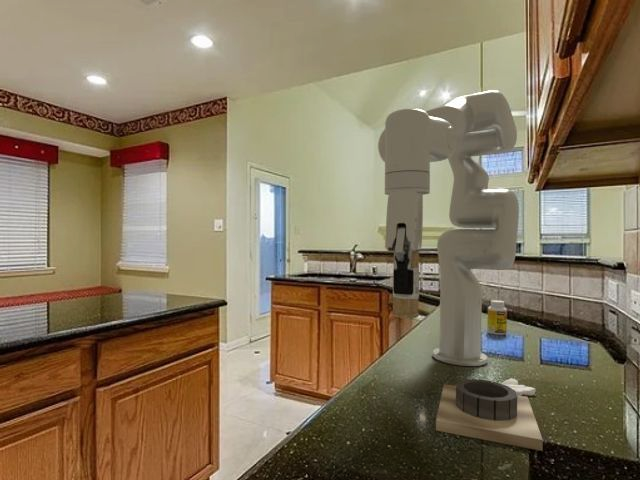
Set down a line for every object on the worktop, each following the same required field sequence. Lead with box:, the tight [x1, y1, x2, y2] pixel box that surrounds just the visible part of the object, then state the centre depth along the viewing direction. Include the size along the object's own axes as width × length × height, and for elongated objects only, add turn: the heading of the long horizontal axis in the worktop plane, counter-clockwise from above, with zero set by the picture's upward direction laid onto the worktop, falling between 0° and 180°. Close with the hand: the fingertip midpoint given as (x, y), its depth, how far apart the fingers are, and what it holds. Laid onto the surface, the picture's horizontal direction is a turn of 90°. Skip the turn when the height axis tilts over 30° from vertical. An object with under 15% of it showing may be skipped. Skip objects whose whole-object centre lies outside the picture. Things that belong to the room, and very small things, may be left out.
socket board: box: [435, 378, 544, 452], centre depth 63 cm, size 16×14×4 cm
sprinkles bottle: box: [392, 240, 421, 319], centre depth 66 cm, size 5×5×14 cm
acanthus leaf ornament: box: [500, 377, 536, 396], centre depth 75 cm, size 8×7×2 cm
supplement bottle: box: [486, 299, 508, 336], centre depth 122 cm, size 6×6×10 cm
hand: (405, 290), depth 66 cm, fingers closed on sprinkles bottle, 4 cm apart
